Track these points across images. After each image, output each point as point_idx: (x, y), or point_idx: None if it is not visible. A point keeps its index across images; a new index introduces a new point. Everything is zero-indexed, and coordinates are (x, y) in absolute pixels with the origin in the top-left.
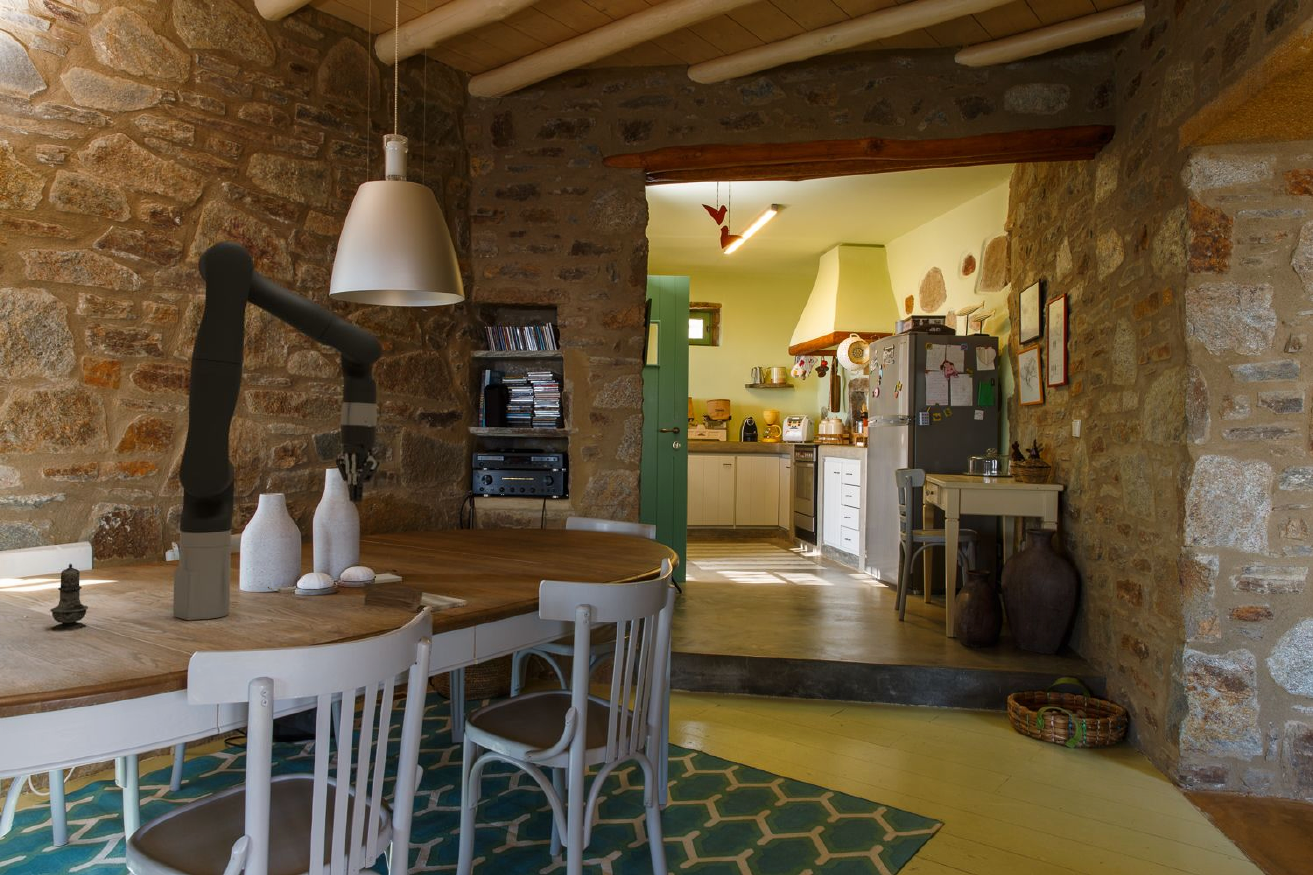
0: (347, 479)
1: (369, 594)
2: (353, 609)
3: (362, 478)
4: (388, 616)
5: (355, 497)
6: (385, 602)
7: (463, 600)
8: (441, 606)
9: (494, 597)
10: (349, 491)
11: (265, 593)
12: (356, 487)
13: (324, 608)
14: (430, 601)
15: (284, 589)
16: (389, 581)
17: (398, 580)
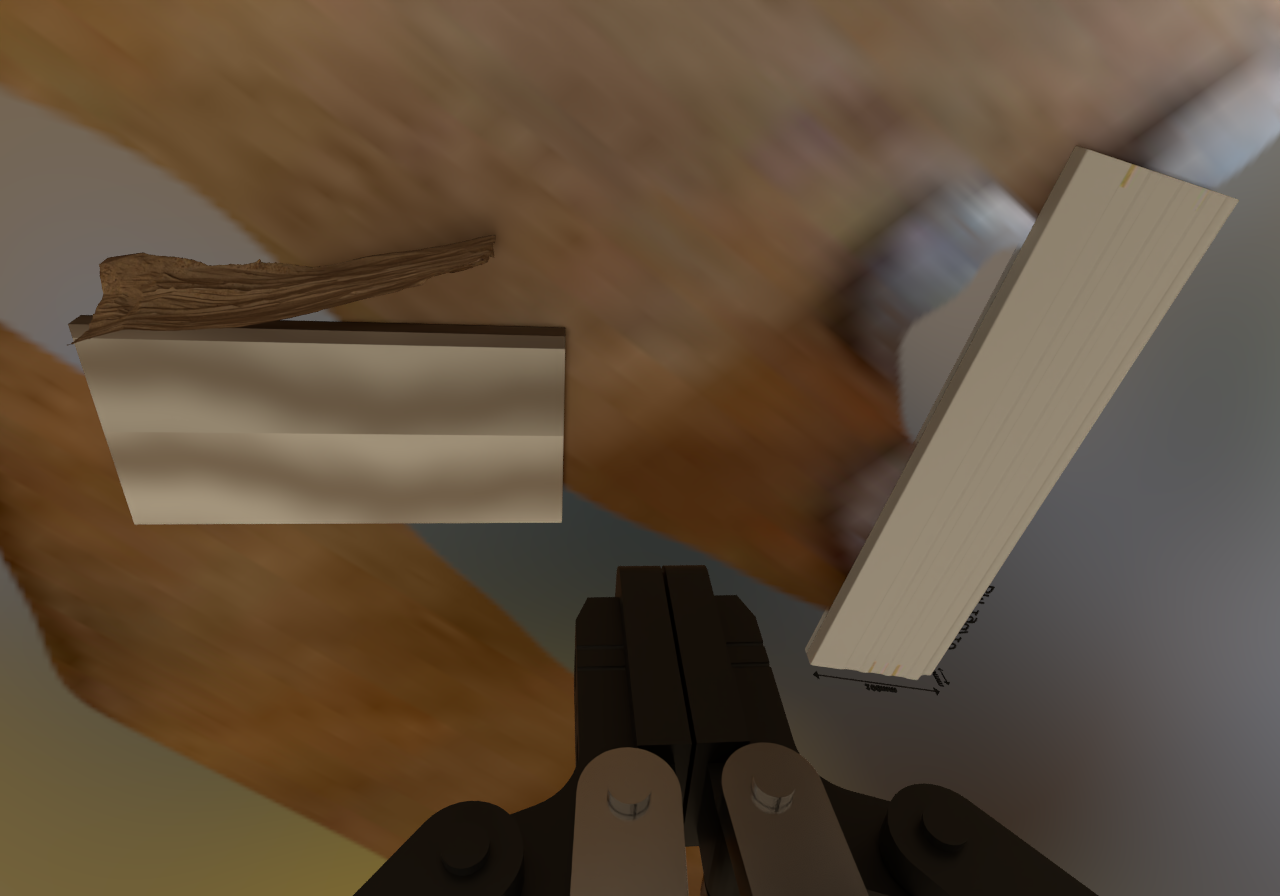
0: (881, 833)
1: (461, 258)
2: (416, 102)
3: (359, 892)
4: (105, 95)
5: (614, 614)
6: (364, 270)
7: (144, 517)
8: (92, 383)
9: (228, 665)
10: (768, 668)
11: (1151, 89)
12: (609, 735)
13: (558, 11)
14: (219, 413)
15: (1077, 169)
16: (828, 614)
17: (812, 644)
